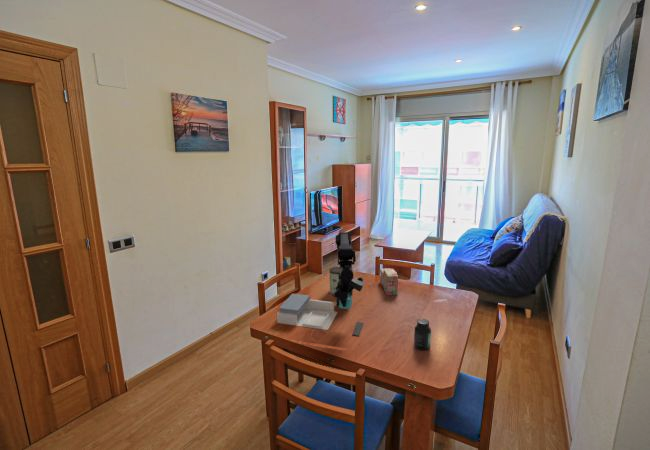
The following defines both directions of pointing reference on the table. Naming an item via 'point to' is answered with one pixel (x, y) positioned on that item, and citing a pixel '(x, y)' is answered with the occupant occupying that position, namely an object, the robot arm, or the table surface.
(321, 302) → the open white tray
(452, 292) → the table surface
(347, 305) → the teal block
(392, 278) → the stack of blocks
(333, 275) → the coffee can
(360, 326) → the rubber mat
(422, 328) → the supplement bottle
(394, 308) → the table surface
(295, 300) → the sliding cover
